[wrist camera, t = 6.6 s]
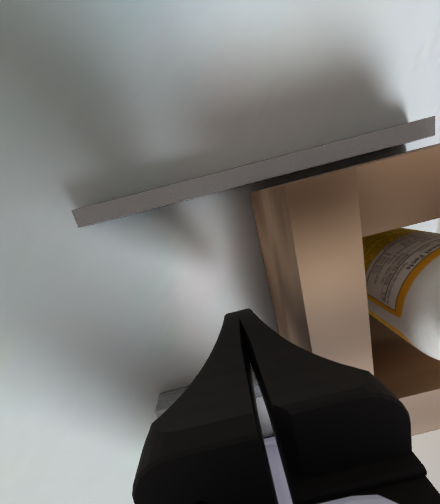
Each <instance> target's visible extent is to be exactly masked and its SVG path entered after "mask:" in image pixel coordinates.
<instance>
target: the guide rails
mask: <svg viewBox="0 0 440 504" xmlns="http://www.w3.org/2000/svg"><path fill="white" fill-rule="evenodd" d="M434 135H435V116H433V117H429V118H425V119H421V120H417V121H414V122H410V123H406V124H402V125H398V126H394V127H391V128H387V129H383V130H379V131H375V132H371V133H367V134H364V135H360V136H356V137H352V138H348V139H344V140H341V141H337V142H333V143H329V144H325V145H321V146H317V147H314V148H310V149H306V150H302V151H298V152H294V153H291V154H287V155H283V156H279V157H275V158H271V159H268V160H264V161H260V162H256V163H252V164H248V165H244V166H241V167H237V168H233V169H229V170H225V171H221V172H218V173H214V174H210V175H206V176H202V177H198V178H194V179H191V180H187V181H183V182H179V183H175V184H171V185H168V186H164V187H160V188H156V189H152V190H148V191H145V192H141V193H137V194H133V195H129V196H125V197H121V198H118V199H114V200H110V201H106V202H102V203H98V204H95V205H91V206H87V207H83V208H79V209H75V210H71V211H72V213H73V215H74V218H75V220H76V223H77V225H78V227H84V226H88V225H93V224H97V223H101V222H105V221H108V220H112V219H116V218H120V217H124V216H128V215H132V214H136V213H139V212H143V211H147V210H151V209H155V208H159V207H163V206H166V205H170V204H174V203H178V202H182V201H186V200H190V199H193V198H197V197H201V196H205V195H209V194H213V193H217V192H220V191H224V190H228V189H232V188H236V187H240V186H244V185H247V184H251V183H255V182H259V181H263V180H267V179H271V178H274V177H278V176H282V175H286V174H290V173H294V172H298V171H302V170H305V169H309V168H313V167H317V166H321V165H325V164H329V163H332V162H336V161H340V160H344V159H348V158H352V157H356V156H359V155H363V154H367V153H371V152H375V151H379V150H383V149H386V148H390V147H394V146H398V145H402V144H406V143H410V142H413V141H417V140H420V139H424V138H427V137H431V136H434ZM252 378H253V385H254V392H255V398H257V397H261V396H262V394H261V391H260V388H259V386H258V383H257V380H256V377H255V374H254V372H253V371H252ZM188 387H189V386H188ZM188 387H184V388H180V389H176V390H172V391H168V392H164V393H160V395H159V399H158V403H157V407H156V411H155V412H156V415H157V417H158V418H159V417H160V416H161V415H162V414H163V413H164V412H165V411H166V410H167V409H168V408H169V407H170V406H171V405H172V404H173V403H174V402H175V401H176V400H177V399H178V398H179V397H180V396H181V395H182V394H183V393H184V391H185V390H186V389H187V388H188Z"/></svg>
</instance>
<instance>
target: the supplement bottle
mask: <svg viewBox="0 0 440 504" xmlns="http://www.w3.org/2000/svg"><path fill="white" fill-rule="evenodd" d="M362 243H363V255H364V266H365V278H366V289H367V301H368V313H369V314H370V315H371V316H373V317H374V318H376V319H377V320H378V321H380V322H381V323H383V324H384V325H385V326H387V327H388V328H389V329H391V330H392V331H393V332H395V333H396V334H398V335H399V336H400V337H402V338H403V339H404V340H406V341H407V342H409V343H410V344H411V345H413V346H414V347H416V348H417V349H419V350H420V351H422V352H423V353H425V354H426V355H428V356H430V357H432V358H435V359H437V360H440V234H438V233H432V232H425V231H418V230H412V229H405V228H397V229H393V230H389V231H385V232H381V233H377V234H373V235H370V236H366V237H362Z"/></svg>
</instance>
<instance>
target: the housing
mask: <svg viewBox="0 0 440 504" xmlns="http://www.w3.org/2000/svg"><path fill="white" fill-rule="evenodd" d="M250 197H251V202H252V207H253V212H254V216H255V221H256V226H257V231H258V236H259V240H260V245H261V250H262V255H263V260H264V264H265V269H266V274H267V279H268V284H269V288H270V293H271V298H272V303H273V308H274V312H275V317H276V322H277V327H278V332H279V335H280V336H282V337H283V338H285V339H286V340H288V341H290V342H291V343H293V344H295V345H297V346H299V347H300V348H303V349H305V350H307V351H309V352H311V353H313V354H316V355H318V356H321V357H323V358H326V359H329V360H332V361H335V362H338V363H341V364H344V365H348V366H352V367H355V368H359V369H363V370H366V371H369V372H370V373H371V374H372V375H373V376H375V377H376V378H377V379H378V380H379V381H380V382H382V383H383V384H384V385H385V386H386V387H387V388H388V389H389V390H390V391H391V392H392V393H393V394H394V395H395V396H396V397H397V398H398V399H399V400H400V401H401V402H402V403H403V405H404V406H405V408H406V409H407V411H408V412H409V416H410V421H411V436H413V435H417V434H421V433H426V432H430V431H434V430H438V429H440V360H437V359H435V358H432V357H430V356H428V355H426V354H425V353H423V352H422V351H420V350H419V349H417V348H416V347H414V346H413V345H411V344H410V343H409V342H407V341H406V340H404V339H403V338H402V337H400V336H399V335H398V334H396V333H395V332H393V331H392V330H391V329H389V328H388V327H387V326H385V325H384V324H383V323H381V322H380V321H378V320H377V319H376V318H374V317H373V316H371V315H370V314H369V313H368V301H367V289H366V278H365V266H364V255H363V243H362V237H366V236H370V235H373V234H377V233H381V232H385V231H389V230H393V229H397V228H401V227H405V226H409V225H413V224H417V223H421V222H425V221H428V220H432V219H436V218H440V144H436V145H432V146H427V147H423V148H419V149H415V150H411V151H407V152H403V153H400V154H396V155H392V156H388V157H384V158H380V159H376V160H372V161H369V162H365V163H361V164H357V165H353V166H349V167H345V168H342V169H338V170H334V171H330V172H326V173H322V174H318V175H314V176H311V177H307V178H303V179H299V180H295V181H291V182H287V183H284V184H280V185H276V186H272V187H268V188H264V189H260V190H256V191H253V192H250Z"/></svg>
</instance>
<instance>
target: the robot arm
mask: <svg viewBox="0 0 440 504" xmlns="http://www.w3.org/2000/svg"><path fill="white" fill-rule="evenodd" d="M250 363H251V365H250ZM251 366H252V369H253V372H254V374H255V377H256V380H257V383H258V386H259V388H260V391H261V394H262V397H263V399H264V402H265V405H266V408H267V411H268V414H269V418H270V421H271V425H272V429H273V432H274V437H270V438H266V439H263V434H262V430H261V426H260V421H259V417H258V411H257V405H256V399H255V392H254V385H253V378H252V371H251ZM426 474H427V471H426V469H425V467H424V466H423V464H422V463H421V462H420V461H419V459H418V458H417V457H416V456H415V454H414V453H413V452H412V445H411V421H410V416H409V412H408V411H407V409H406V408H405V406H404V405H403V403H402V402H401V401H400V400H399V399H398V398H397V397H396V396H395V395H394V394H393V393H392V392H391V391H390V390H389V389H388V388H387V387H386V386H385V385H384V384H383V383H382V382H380V381H379V380H378V379H377V378H376V377H375V376H373V375H372V374H371V373H370V372H369V371H366V370H363V369H359V368H355V367H352V366H348V365H344V364H341V363H338V362H335V361H332V360H329V359H326V358H323V357H321V356H318V355H316V354H313V353H311V352H309V351H307V350H305V349H303V348H300V347H299V346H297V345H295V344H293V343H291V342H290V341H288V340H286V339H285V338H283V337H282V336H280V335H279V334H277V333H276V332H275V331H273V330H272V329H271V328H270V327H268V326H267V325H266V324H265V323H264V322H262V321H261V320H260V319H259V318H258V317H257V316H256V315H255V314H254V313H253V311H252V310H251V309H245V310H240V311H236V312H232V313H228V314H226V315H225V317H224V322H223V325H222V329H221V331H220V334H219V337H218V339H217V342H216V344H215V346H214V348H213V350H212V352H211V354H210V356H209V358H208V360H207V361H206V363H205V365H204V366H203V368H202V369H201V371H200V372H199V374H198V375H197V376H196V378H195V379H194V380H193V382H192V383H191V384H190V386H189V387H188V388H187V389H186V390H185V391H184V393H183V394H182V395H181V396H180V397H179V398H178V399H177V400H176V401H175V402H174V403H173V404H172V405H171V406H170V407H169V408H168V409H167V410H166V411H165V412H164V413H163V414H162V415H161V416H160V417H159V418H158V419H156V420H155V421H154V422H153V423H152V425H151V428H150V431H149V433H148V436H147V438H146V441H145V444H144V447H143V450H142V454H141V457H140V461H139V465H138V469H137V472H136V476H135V480H134V484H133V492H132V496H133V500H134V503H135V504H440V494H439V493H438V491H437V490H436V489H435V487H434V486H433V485H432V484H431V482H430V481H429V480H428V479H427V477H426V476H425V475H426Z"/></svg>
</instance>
